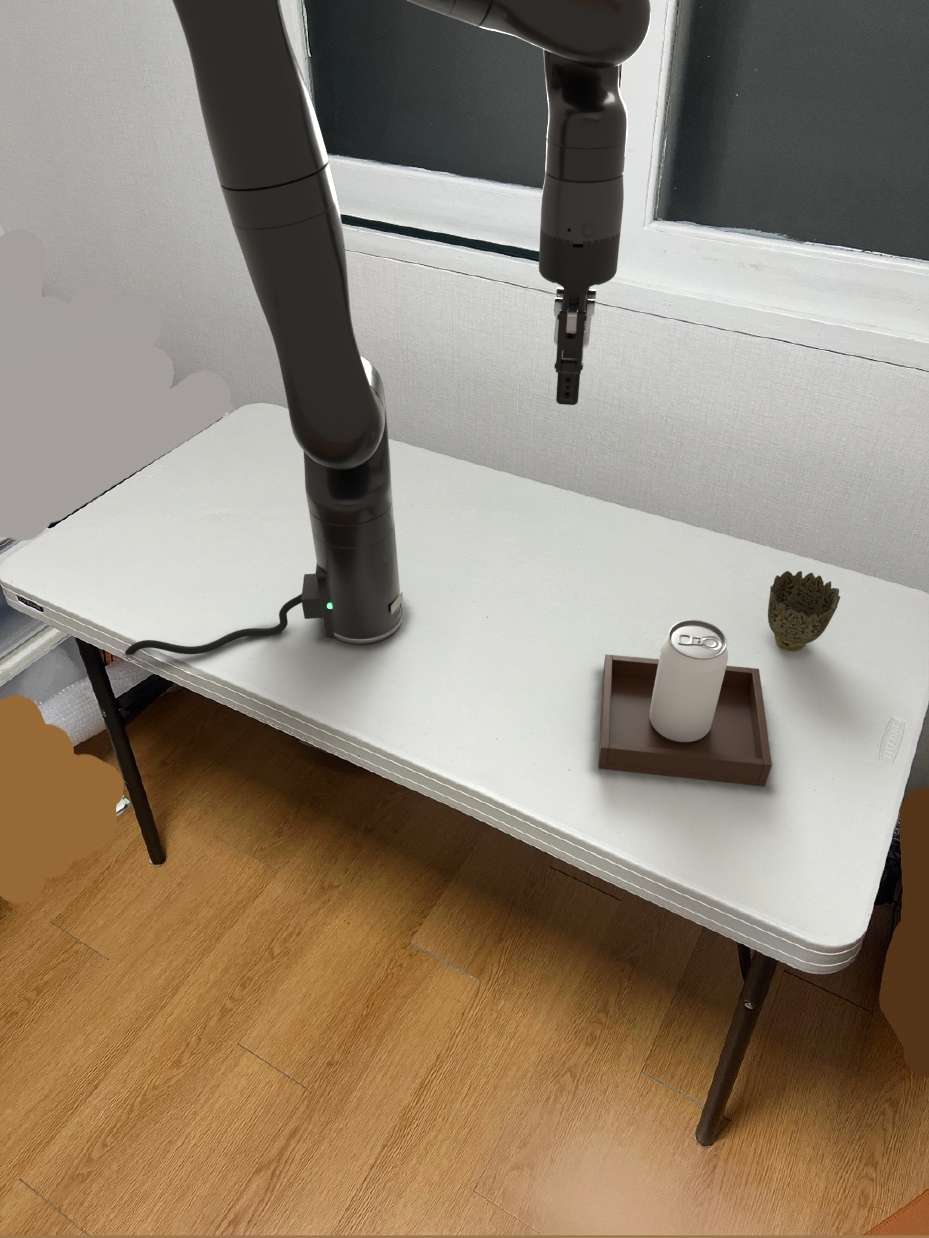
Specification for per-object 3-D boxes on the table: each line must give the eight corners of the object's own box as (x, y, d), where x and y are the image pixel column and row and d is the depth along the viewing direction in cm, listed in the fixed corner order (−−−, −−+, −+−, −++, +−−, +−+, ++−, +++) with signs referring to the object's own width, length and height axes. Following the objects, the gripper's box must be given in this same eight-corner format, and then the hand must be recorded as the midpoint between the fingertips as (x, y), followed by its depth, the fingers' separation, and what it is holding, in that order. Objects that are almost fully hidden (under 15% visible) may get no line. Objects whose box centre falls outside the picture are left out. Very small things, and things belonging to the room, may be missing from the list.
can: (710, 748, 92) (732, 665, 84) (647, 740, 93) (662, 657, 85) (710, 703, 97) (731, 620, 89) (650, 695, 98) (664, 613, 90)
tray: (598, 768, 91) (600, 747, 89) (602, 675, 101) (605, 654, 99) (765, 786, 89) (772, 765, 87) (753, 689, 99) (759, 668, 97)
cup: (811, 673, 101) (830, 621, 96) (748, 650, 104) (762, 598, 98) (829, 635, 106) (848, 583, 100) (768, 614, 108) (783, 562, 103)
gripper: (546, 199, 89) (539, 352, 100) (533, 249, 79) (527, 414, 89) (622, 201, 88) (607, 356, 99) (619, 252, 78) (603, 419, 88)
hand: (569, 383), depth 94 cm, fingers open, 8 cm apart
